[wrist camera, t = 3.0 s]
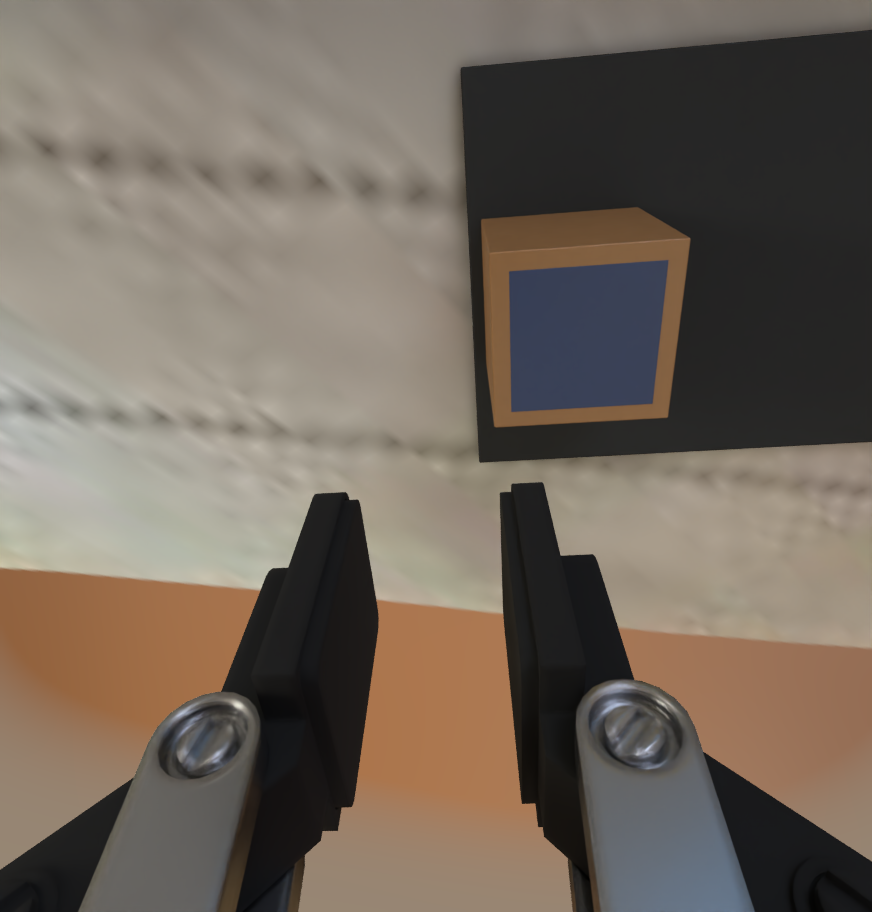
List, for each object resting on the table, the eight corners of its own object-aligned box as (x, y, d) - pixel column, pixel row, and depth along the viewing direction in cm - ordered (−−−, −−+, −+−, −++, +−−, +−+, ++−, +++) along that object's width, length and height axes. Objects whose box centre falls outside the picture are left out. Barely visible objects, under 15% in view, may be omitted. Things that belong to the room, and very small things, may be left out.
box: (486, 364, 27) (494, 428, 21) (480, 218, 24) (488, 253, 18) (625, 355, 26) (668, 418, 21) (638, 206, 23) (691, 237, 18)
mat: (479, 456, 30) (479, 463, 29) (460, 68, 22) (460, 67, 21) (1020, 427, 28) (1031, 433, 28) (1215, -1, 20) (1235, -4, 20)
